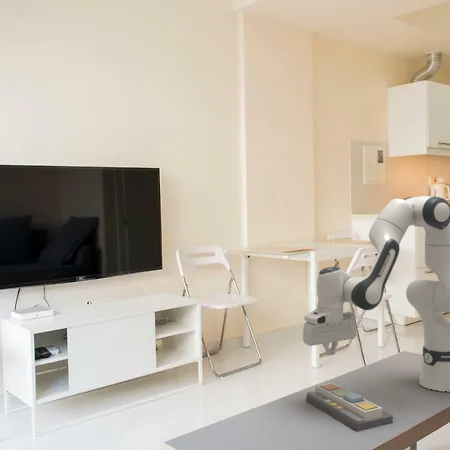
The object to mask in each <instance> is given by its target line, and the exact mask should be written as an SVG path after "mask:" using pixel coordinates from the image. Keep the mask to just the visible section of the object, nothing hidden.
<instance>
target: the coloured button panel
mask: <svg viewBox="0 0 450 450" xmlns="http://www.w3.org/2000/svg"><path fill="white" fill-rule="evenodd" d="M329 384H333V385H335V386H337V387H339V389H337V390H332V391H327V390H325V389H323V388H322V387H321V386H323V385H329ZM338 390H344V391H346V392H348V393H353V392H352V391H349V390H348V389H346V388H344V387H342V386H340V385H338V384H337V383H334V382H328V383H324V384H318V385H315V391H308V392H307V394H306V399H305V400H306V402H307V403H309V404H311V405H312V406H314V407H315V408H318V409H319V410H321V411H323V412H324V413H326V414H327V415H329V416H330V417H332V418H334V419H335V420H337V421H339V422H341V423H342V424H345V426H347V427H350V428H351V429H353V430H354V431H356V432H360V431H363V430H368V429H372V428H376V427H380V426H384V425H388V424H392V423H393V422H394V421H393V415H391V414H389V413H387V412H385V411H383V407H381V406H379V405H377V404H375V403H373V402H371V401H369V400H367V399H366V398H364V397H363V401H362V402H358V403H353V404H352V403H350V402H348V401H346V400H344V397H338V396H337V395H335V394H333V393H332V392H333V391H338ZM365 402H368V403H370V404H372V405H374V406H376V408H375V409H370V410H366V411H365V410H363V409H361V408H359V407H357V406H356V404H360V403H365Z"/></svg>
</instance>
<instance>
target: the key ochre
mask: <svg viewBox="0 0 450 450" xmlns="http://www.w3.org/2000/svg"><path fill="white" fill-rule="evenodd" d="M356 406H357V407H359V408H361V409H363V410H365V411H366V410H370V409H375V408H376V406H374V405H372V404H370V403H368V402H365V403H360V404H356Z"/></svg>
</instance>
